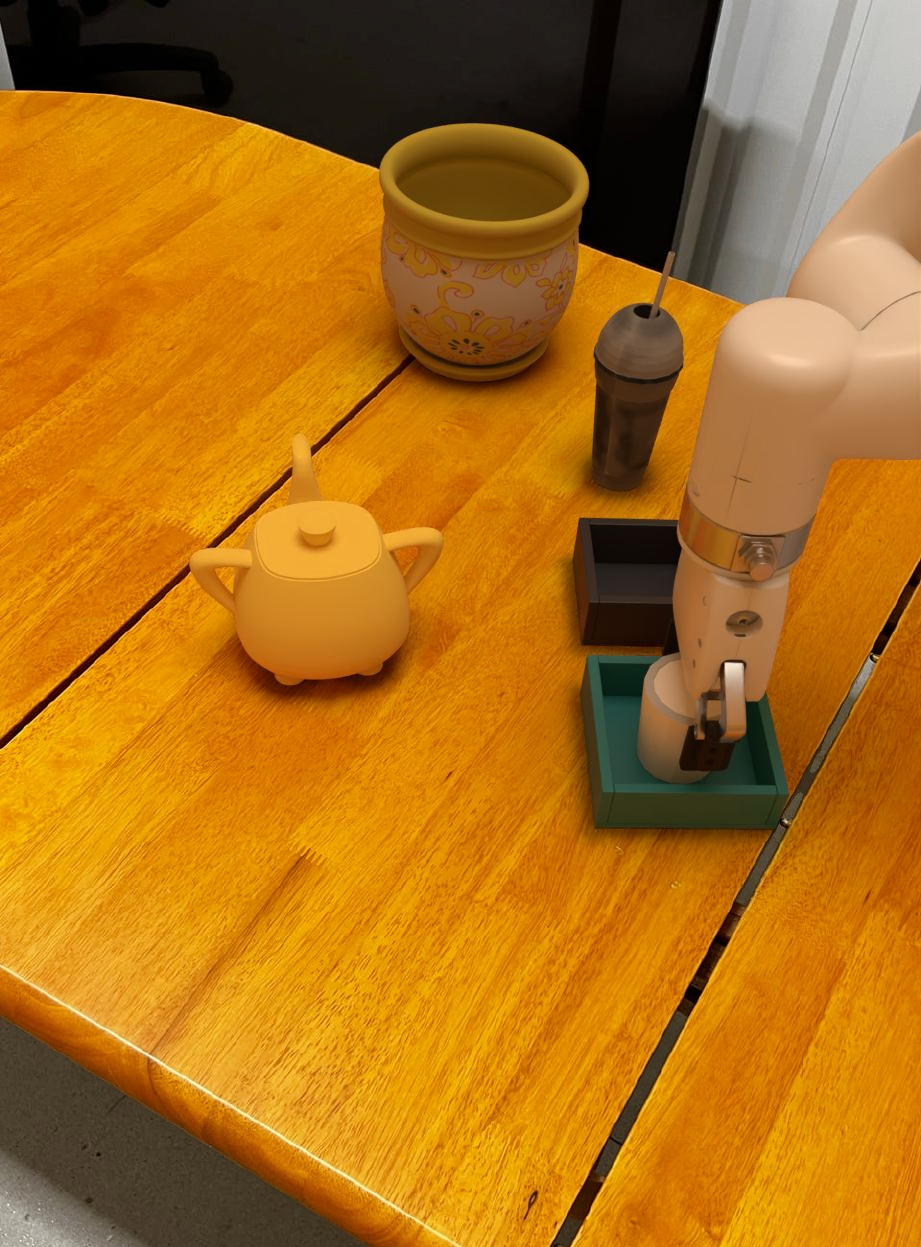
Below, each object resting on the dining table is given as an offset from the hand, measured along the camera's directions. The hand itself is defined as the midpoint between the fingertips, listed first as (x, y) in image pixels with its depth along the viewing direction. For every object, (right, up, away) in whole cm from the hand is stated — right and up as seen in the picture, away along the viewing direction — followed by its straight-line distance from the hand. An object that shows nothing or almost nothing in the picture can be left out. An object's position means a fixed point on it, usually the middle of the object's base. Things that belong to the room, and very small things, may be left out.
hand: (692, 712), depth 87 cm
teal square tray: (-1, -3, +4) cm, 5 cm away
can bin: (-2, +10, +13) cm, 17 cm away
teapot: (-27, +8, +10) cm, 30 cm away
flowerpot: (-15, +38, +34) cm, 53 cm away
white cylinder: (-1, -3, +4) cm, 5 cm away
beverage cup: (-2, +23, +23) cm, 32 cm away
